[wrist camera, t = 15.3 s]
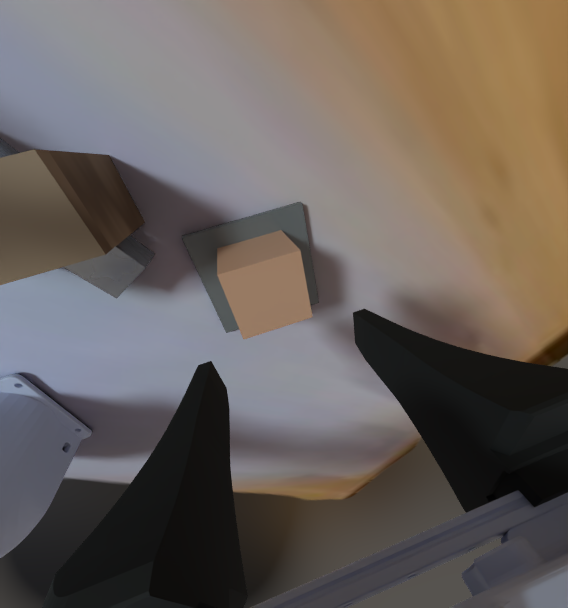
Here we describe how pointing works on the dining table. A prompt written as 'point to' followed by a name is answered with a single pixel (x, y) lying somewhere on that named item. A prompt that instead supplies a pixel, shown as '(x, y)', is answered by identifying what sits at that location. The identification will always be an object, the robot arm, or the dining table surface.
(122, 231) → the bracket
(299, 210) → the coaster
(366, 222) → the dining table surface
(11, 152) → the silver square bar
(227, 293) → the block
